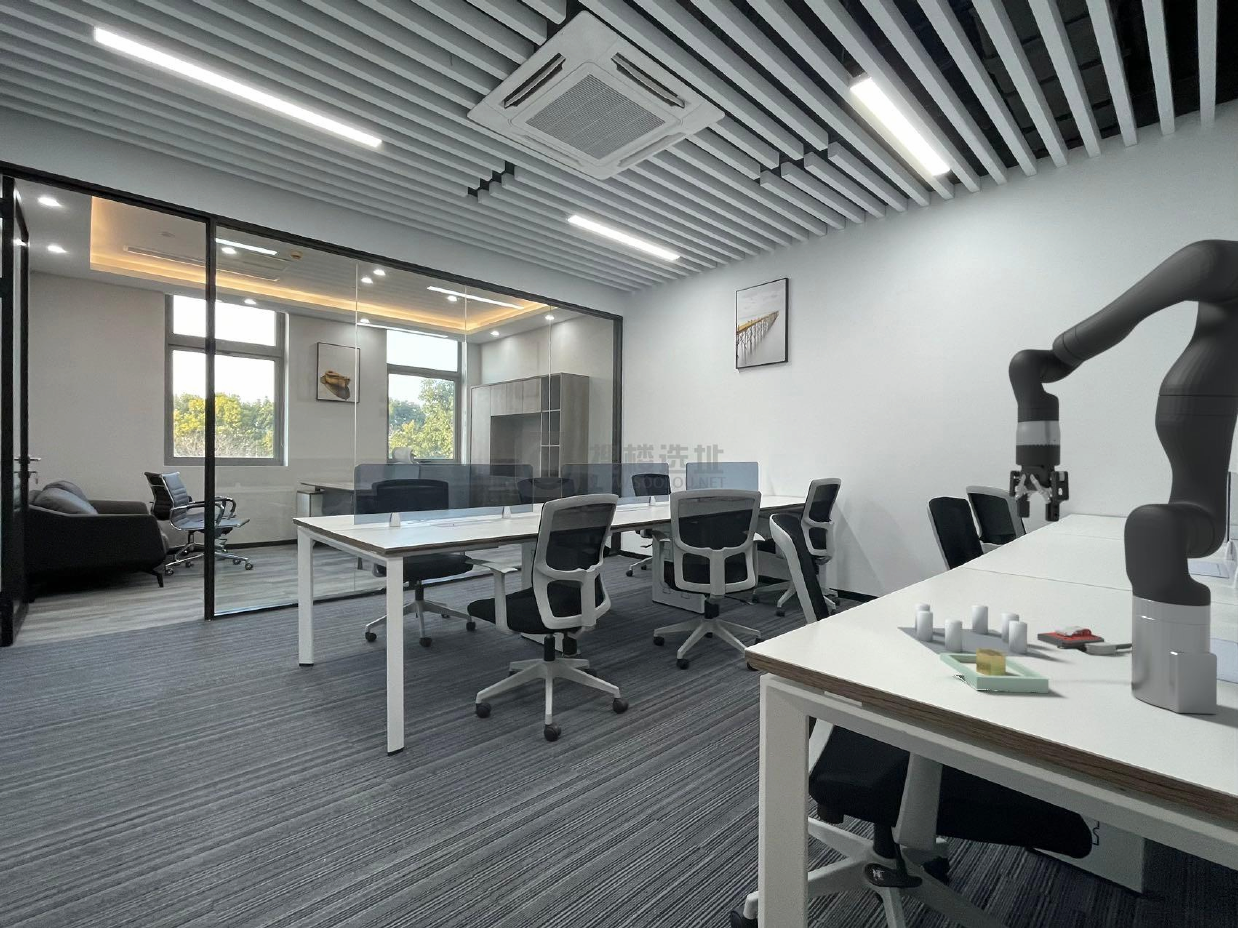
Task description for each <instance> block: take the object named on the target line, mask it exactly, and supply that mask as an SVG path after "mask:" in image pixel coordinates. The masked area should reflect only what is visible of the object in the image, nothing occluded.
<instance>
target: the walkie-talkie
mask: <svg viewBox="0 0 1238 928" xmlns="http://www.w3.org/2000/svg"><path fill="white" fill-rule="evenodd" d="M1036 637H1037V640H1038V641H1041V642H1043V643H1047V644H1051V645H1054V646H1056V648H1057V649H1060V650H1074V649H1075V650H1077V651H1080V652H1081V653H1084V654H1088V655H1095V656H1096V655H1099V656H1103V655H1115V654H1117V651H1119V650H1127V649H1132V642H1129V643H1128V642H1127V643H1119V644H1114V643H1111V642H1107V641H1105V638H1103V637H1101V636H1100V635H1099V636H1098V635H1095V634H1092V631H1091V629H1089V628H1086V627H1085V628H1084V627H1082V626H1077V625H1076V626H1065V628H1064V629H1063V630H1061V629H1055V630H1054V631H1053V632H1043V633H1037V635H1036Z"/></svg>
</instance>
